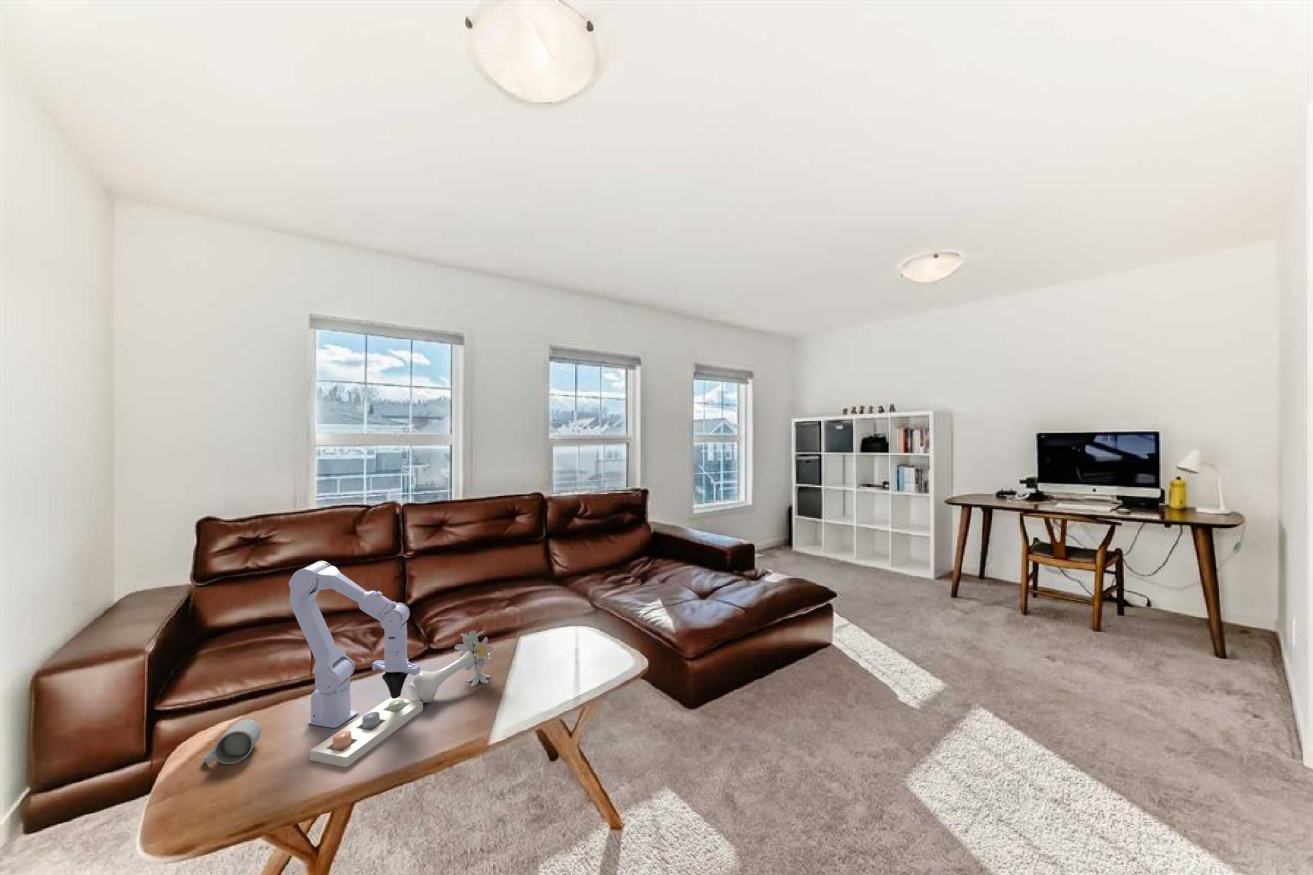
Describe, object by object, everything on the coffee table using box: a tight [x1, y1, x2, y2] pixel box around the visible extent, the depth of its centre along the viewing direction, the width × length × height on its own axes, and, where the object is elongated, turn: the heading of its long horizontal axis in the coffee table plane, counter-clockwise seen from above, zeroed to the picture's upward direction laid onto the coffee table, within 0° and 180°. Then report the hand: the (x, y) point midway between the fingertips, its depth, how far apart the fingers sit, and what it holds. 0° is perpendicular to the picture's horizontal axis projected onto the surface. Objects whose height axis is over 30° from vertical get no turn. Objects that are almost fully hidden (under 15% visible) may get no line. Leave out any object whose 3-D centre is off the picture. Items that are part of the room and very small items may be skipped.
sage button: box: [388, 698, 404, 712], centre depth 144 cm, size 4×4×3 cm
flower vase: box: [407, 630, 494, 704], centre depth 158 cm, size 13×18×25 cm
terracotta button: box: [332, 731, 352, 752], centre depth 126 cm, size 4×4×3 cm
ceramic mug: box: [202, 718, 262, 765], centre depth 126 cm, size 11×8×8 cm
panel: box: [309, 696, 424, 768], centre depth 135 cm, size 11×26×2 cm, turn 165°
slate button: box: [361, 712, 380, 731], centre depth 135 cm, size 4×4×3 cm
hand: (396, 696), depth 144 cm, fingers closed
